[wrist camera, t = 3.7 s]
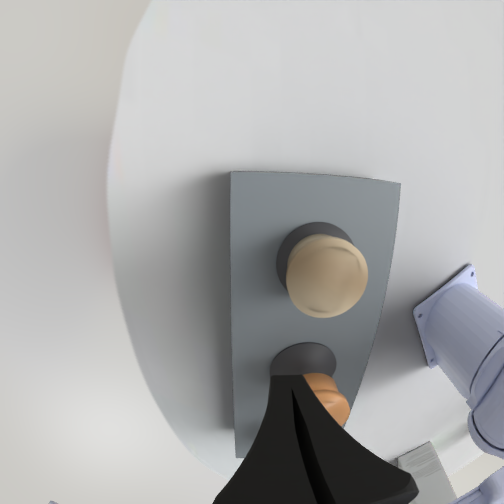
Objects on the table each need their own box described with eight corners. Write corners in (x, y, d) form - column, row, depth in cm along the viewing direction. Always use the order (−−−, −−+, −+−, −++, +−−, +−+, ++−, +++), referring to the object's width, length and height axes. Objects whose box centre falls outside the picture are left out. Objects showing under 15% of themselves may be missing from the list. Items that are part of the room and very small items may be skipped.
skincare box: (426, 457, 32) (453, 515, 17) (395, 472, 33) (417, 534, 18) (430, 439, 30) (463, 506, 15) (395, 457, 30) (422, 529, 16)
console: (326, 425, 26) (333, 453, 22) (236, 429, 26) (235, 459, 22) (373, 179, 18) (402, 183, 14) (234, 170, 18) (230, 172, 14)
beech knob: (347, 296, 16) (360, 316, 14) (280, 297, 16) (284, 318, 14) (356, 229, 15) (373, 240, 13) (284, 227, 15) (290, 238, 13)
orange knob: (333, 409, 17) (341, 435, 14) (274, 414, 17) (276, 440, 14) (346, 366, 15) (357, 393, 13) (279, 370, 15) (282, 399, 13)
